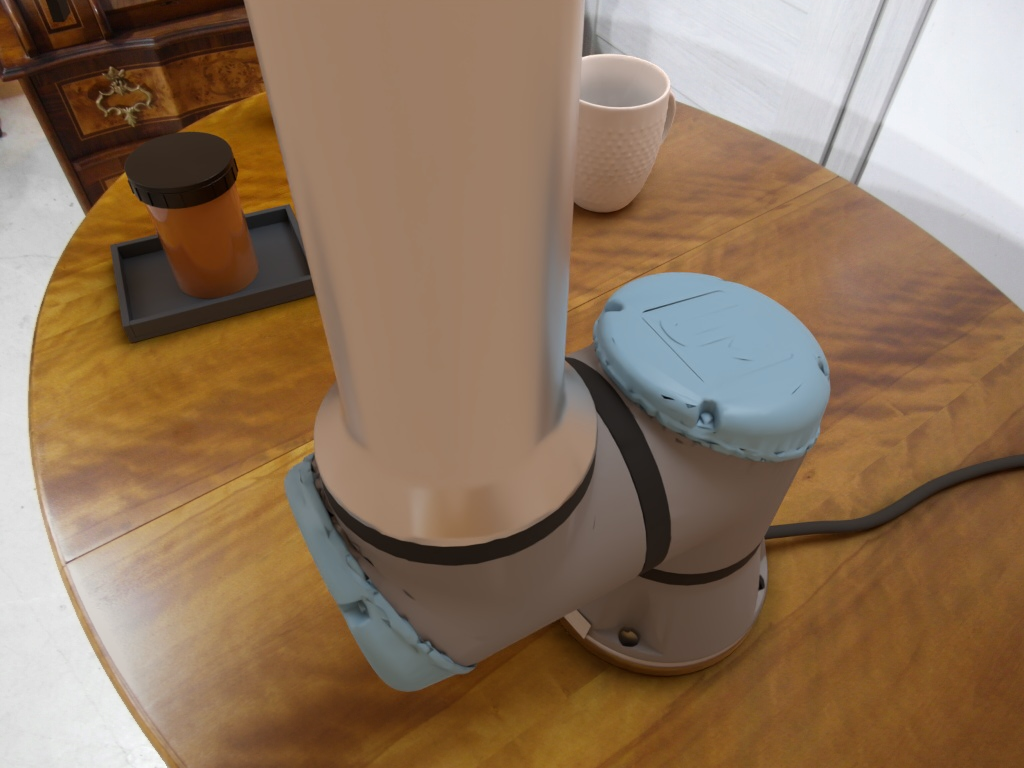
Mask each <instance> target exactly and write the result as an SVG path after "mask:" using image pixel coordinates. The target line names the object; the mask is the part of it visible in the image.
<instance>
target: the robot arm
mask: <svg viewBox="0 0 1024 768" xmlns="http://www.w3.org/2000/svg"><path fill="white" fill-rule="evenodd" d="M45 2H46V6H47V9H48V11H49V14H50V17H51V20H52V23H65V22H66V20H67V19H68V18H69V16H70V14H71V9H70V6H69V3H68V0H45ZM243 3H244V7H245V11H246V12H245V13H246V16H247V20H248V23H249V27H250V32H251V35H252V40H253V44H254V49H255V52H256V56H257V61H258V64H259V69H260V72H261V76H262V81H263V85H264V90H265V94H266V98H267V101H268V105H269V106H268V107H269V110H270V114H271V117H272V120H273V126H274V130H275V135H276V139H277V143H278V146H279V151H280V154H281V158H282V163H283V167H284V171H285V175H286V179H287V183H288V188H289V191H290V196H291V200H292V204H293V209H294V211H295V212H294V213H295V217H296V220H297V222H298V225H299V229H300V233H301V237H302V241H303V245H304V249H305V253H306V257H307V262H308V266H309V270H310V274H311V278H312V282H313V286H314V290H315V294H316V295H315V298H316V303H317V306H318V310H319V311H318V312H319V315H320V318H321V322H322V323H321V324H322V327H323V331H324V335H325V338H326V343H327V347H328V351H329V352H328V353H329V355H330V359H331V364H332V368H333V371H334V375H335V379H336V380H335V381H334V382H333V383H332V384H331V386H330V387H329V389H328V390H327V392H326V394H325V395H324V397H323V398H322V401H321V403H320V405H319V408H318V410H317V413H316V416H315V420H314V426H313V451H314V452H311V453H309V454H308V455H306V456H304V457H303V459H302V460H301V461H300V462H298V463H297V464H295V465H293V466H292V467H291V468H289V470H288V472H287V474H286V475H285V476H284V479H283V484H284V492H285V496H286V500H287V502H288V505H289V507H290V510H291V513H292V515H293V518H294V520H295V523H296V525H297V527H298V529H299V532H300V534H301V536H302V538H303V541H304V542H305V545H306V547H307V549H308V551H309V554H310V556H311V558H312V560H313V562H314V565H315V567H316V568H317V570H318V572H319V575H320V577H321V579H322V580H323V583H324V584H325V586H326V588H327V591H328V592H329V594H330V596H331V597H332V598H333V600H334V601H335V604H336V605H337V608H338V609H339V611H340V613H341V615H342V617H343V618H344V620H345V622H346V625H347V628H348V629H349V631H350V633H351V635H352V637H353V639H354V640H355V641H354V642H356V644H357V647H358V648H359V650H360V651H361V653H362V655H363V656H364V657H365V659H366V661H367V662H368V664H369V665H370V666H371V668H372V670H373V671H374V672H375V674H376V675H377V676H378V678H380V680H381V681H382V682H383V683H384V684H386V685H387V686H388V687H390V688H391V689H394V690H396V691H400V692H407V693H411V692H417V691H420V690H424V689H426V688H428V687H430V686H432V685H435V684H437V683H439V682H442V681H445V680H447V679H449V678H451V677H453V676H456V675H467V674H468V673H471V672H472V671H473V670H475V668H476V667H477V666H478V664H479V663H481V662H482V661H484V660H486V659H488V658H489V657H491V656H493V655H495V654H497V653H499V652H500V651H502V650H504V649H506V648H508V647H510V646H511V645H513V644H515V643H517V642H519V641H521V640H523V639H525V638H527V637H529V636H530V635H532V634H534V633H536V632H538V631H540V630H542V629H543V628H545V627H547V626H549V625H551V624H553V623H555V622H556V621H559V623H560V624H561V625H562V627H563V629H565V630H566V632H568V633H569V635H570V636H571V637H572V638H573V639H574V640H575V641H576V642H577V643H578V644H580V645H581V646H582V647H583V648H584V649H586V650H587V651H589V652H590V653H592V655H595V656H596V657H597V658H600V660H603V661H605V662H607V663H609V664H611V665H613V666H616V667H618V668H620V669H624V670H627V671H630V672H633V673H638V674H643V675H649V676H650V675H651V676H663V677H665V676H666V677H668V676H680V675H685V674H686V675H687V674H691V673H694V672H695V673H696V672H699V671H702V670H704V669H708V668H709V667H712V666H714V665H715V664H717V663H720V662H721V661H723V660H724V659H725V658H727V657H728V656H730V655H731V654H732V653H733V652H735V650H737V649H738V648H739V646H740V645H741V644H742V643H743V642H744V641H745V640H746V638H747V636H748V635H749V634H750V632H751V631H752V629H753V627H754V625H755V623H756V622H757V620H758V618H759V616H760V614H761V613H762V610H763V607H764V605H765V602H766V599H767V594H768V588H769V564H768V563H769V562H768V558H767V549H766V540H775V539H784V538H785V539H786V538H792V537H802V536H803V537H804V536H810V535H811V536H812V535H832V534H849V533H850V534H851V533H855V532H861V531H866V530H870V529H872V528H875V527H878V526H880V525H883V524H885V523H887V522H889V521H891V520H893V519H896V518H897V517H899V516H901V515H903V514H904V513H906V512H907V511H908V510H910V509H912V508H914V507H915V506H917V505H918V504H919V503H921V502H923V501H924V500H925V499H927V498H929V497H930V496H932V495H934V494H936V493H937V492H940V491H941V490H944V489H946V488H949V487H951V486H953V485H956V484H959V483H962V482H964V481H968V480H971V479H974V478H977V477H980V476H983V475H986V474H990V473H995V472H1000V471H1003V470H1009V469H1013V468H1014V469H1015V468H1020V467H1024V453H1021V454H1015V455H1010V456H1004V457H998V458H994V459H991V460H987V461H982V462H979V463H975V464H972V465H969V466H968V465H967V466H965V467H963V468H959V469H956V470H954V471H950V472H948V473H945V474H943V475H940V476H937V477H935V478H933V479H931V480H929V481H927V482H925V483H923V484H921V485H920V486H918V487H916V488H915V489H913V490H911V491H910V492H909V493H907V494H905V495H903V496H902V497H900V498H899V499H898V500H896V501H895V502H893V503H891V504H890V505H888V506H885V507H884V508H882V509H880V510H878V511H875V512H873V513H871V514H868V515H865V516H861V517H857V518H852V519H842V520H837V519H836V520H815V521H814V520H811V521H803V522H792V523H783V524H774V525H772V523H773V521H774V518H775V517H776V515H777V513H778V511H779V509H780V507H781V505H782V503H783V502H784V499H785V497H786V496H787V493H788V492H789V490H790V487H791V486H792V484H793V481H794V480H795V477H796V476H797V474H798V472H799V470H800V468H801V466H802V464H803V463H804V460H805V459H806V456H807V454H808V453H809V451H811V450H812V449H813V448H814V446H815V445H816V443H817V441H818V439H819V436H820V434H821V424H822V420H823V416H824V414H825V412H826V409H827V406H828V405H829V401H830V398H831V397H830V396H831V390H832V388H831V381H830V380H831V379H830V373H831V372H830V366H829V363H828V360H827V358H826V356H825V353H824V351H823V349H822V347H821V346H820V343H819V342H818V340H817V339H816V338H815V336H814V335H813V333H812V332H811V331H810V330H809V328H808V327H807V326H806V325H805V324H804V323H803V322H802V321H801V320H800V319H799V318H798V317H797V316H796V315H794V313H793V312H791V311H790V310H789V309H787V308H786V307H785V306H783V305H781V304H780V303H779V302H777V301H776V300H774V299H773V298H771V297H769V296H767V295H766V294H764V293H762V292H760V291H758V290H756V289H754V288H751V287H749V286H747V285H745V284H741V283H739V282H734V281H729V280H726V279H723V278H721V277H718V276H715V275H710V274H705V273H697V272H689V271H688V272H687V271H671V272H670V271H669V272H668V271H667V272H660V273H655V274H649V275H645V276H641V277H638V278H636V279H633V280H631V281H629V282H627V283H625V284H624V285H622V286H621V287H619V288H618V289H617V290H615V291H614V292H613V293H612V294H611V295H610V296H609V298H608V300H606V302H605V304H604V306H603V309H602V310H601V312H600V314H599V315H598V317H597V319H596V320H595V322H594V323H593V329H592V342H591V343H590V344H589V345H587V346H585V347H583V348H581V349H578V350H575V351H573V352H570V353H568V354H566V344H567V343H566V342H567V328H568V327H567V326H568V310H569V309H568V307H569V290H570V289H569V288H570V276H571V275H570V274H571V273H570V272H571V255H572V238H573V221H574V205H575V202H574V187H575V170H576V153H577V135H578V118H579V100H580V83H581V65H582V57H583V47H584V46H583V45H584V31H585V29H584V28H585V13H586V12H585V11H586V0H243Z"/></svg>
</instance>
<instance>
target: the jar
mask: <svg viewBox="0 0 1024 768" xmlns="http://www.w3.org/2000/svg"><path fill="white" fill-rule="evenodd" d="M144 205H145V208H146V210H147V213H148V216H149V218H150V220H151V223H152V225H153V228H154V231H155V233H156V234H157V235H158V238H159V240H160V243H161V245H162V248H163V250H164V252H165V255H166V257H167V260H168V262H169V265H170V267H171V270H172V272H173V275H174V277H175V280H176V282H177V285H178V286H179V288H180V289H181V290H182V291H183V292H185V293H186V294H188V295H190V296H193V297H197V298H203V299H214V298H221V297H225V296H229V295H232V294H234V293H237V292H239V291H241V290H242V289H244V288H246V287H247V286H248V285H249V284H250V283H251V282H252V281H253V280H254V279H255V278H256V276H257V274H258V271H259V263H258V259H257V256H256V252H255V249H254V245H253V242H252V239H251V235H250V232H249V228H248V225H247V221H246V218H245V215H244V214H245V212H244V208H243V204H242V201H241V198H240V195H239V191H238V188H237V184H236V182H235V183H234V185H233V186H232V187H231V188H230V189H229V190H228V191H227V192H226V193H224V194H223V195H221V196H220V197H218V198H216V199H214V200H212V201H210V202H207V203H205V204H201V205H198V206H194V207H189V208H181V209H164V208H157V207H152V206H150V205H147V204H145V203H144Z"/></svg>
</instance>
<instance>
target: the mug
mask: <svg viewBox="0 0 1024 768" xmlns="http://www.w3.org/2000/svg"><path fill="white" fill-rule="evenodd" d="M671 85H672V84H671V80H670V77H669V75H668V74H667V72H665V70H664V69H662V68H661V67H660V66H658V65H656V64H654V63H653V62H650V61H648V60H646V59H643V58H639V57H636V56H632V55H627V54H619V53H617V54H616V53H600V54H598V53H597V54H590V55H585V56H582V65H581V83H580V100H579V118H578V135H577V153H576V170H575V187H574V204H576V205H577V206H578V207H579V208H582V209H584V210H586V211H589V212H595V213H612V212H616V211H619V210H622V209H624V208H625V207H626V206H628V205H629V204H630V203H632V201H634V200H635V198H636V197H637V195H638V194H639V193H640V192H641V191H642V189H643V188H644V186H645V184H646V183H647V181H648V179H649V176H650V175H651V173H652V170H653V167H654V165H655V163H656V159H657V156H658V154H659V152H660V148H661V147H662V145H663V143H664V142H665V141H666V139H667V137H668V135H669V133H670V132H671V129H672V126H673V123H674V120H675V118H676V117H675V116H676V110H677V100H676V96H675V94H674V92H673V91H672V90H671Z"/></svg>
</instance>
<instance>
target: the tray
mask: <svg viewBox="0 0 1024 768" xmlns="http://www.w3.org/2000/svg"><path fill="white" fill-rule="evenodd" d="M244 215H245V218H246V221H247V225H248V228H249V232H250V235H251V239H252V242H253V245H254V249H255V252H256V256H257V259H258V263H259V271H258V274H257V276H256V278H255V279H254V280H253V281H252V282H251V283H250V284H249V285H248V286H247V287H246V288H244V289H242V290H241V291H239V292H237V293H234V294H232V295H229V296H225V297H221V298H214V299H203V298H197V297H193V296H190V295H188V294H186V293H185V292H183V291H182V290H181V289H180V288H179V286H178V285H177V282H176V280H175V277H174V275H173V272H172V270H171V267H170V265H169V262H168V260H167V257H166V255H165V252H164V250H163V248H162V245H161V243H160V240H159V238H158V235H157V233H156V234H152V235H147V236H143V237H139V238H134V239H130V240H126V241H122V242H117V243H113V244H110V245H109V249H110V254H111V260H112V268H113V272H114V278H115V279H114V280H115V285H116V291H117V298H118V304H119V310H120V311H119V312H120V317H121V324H122V328H123V331H124V332H125V334H126V336H127V339H128V340H129V342H130V343H131V344H134V343H138V342H141V341H145V340H149V339H152V338H157V337H160V336H163V335H164V336H165V335H168V334H171V333H172V334H173V333H176V332H179V331H182V330H186V329H190V328H194V327H198V326H202V325H206V324H210V323H214V322H217V321H220V320H224V319H225V320H226V319H228V318H232V317H236V316H240V315H243V314H247V313H251V312H255V311H258V310H262V309H266V308H270V307H273V306H277V305H281V304H285V303H288V302H293V301H295V300H301V299H304V298H309V297H311V296H316V294H315V290H314V286H313V282H312V278H311V274H310V270H309V266H308V262H307V257H306V253H305V249H304V245H303V241H302V237H301V233H300V229H299V225H298V221H297V216H296V214H295V212H294V211H293V208H292V206H291V204H290V203H288V204H283V205H278V206H275V207H270V208H266V209H262V210H257V211H252V212H247V213H244Z"/></svg>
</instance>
